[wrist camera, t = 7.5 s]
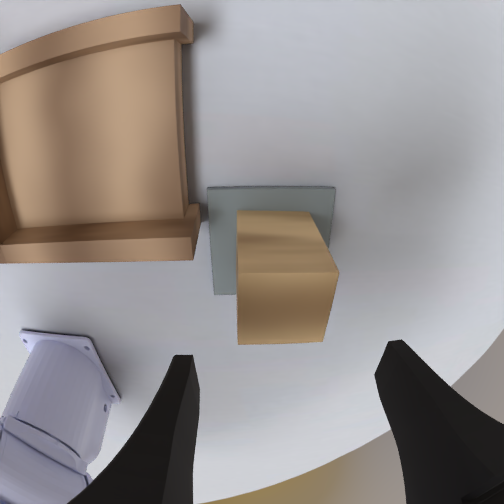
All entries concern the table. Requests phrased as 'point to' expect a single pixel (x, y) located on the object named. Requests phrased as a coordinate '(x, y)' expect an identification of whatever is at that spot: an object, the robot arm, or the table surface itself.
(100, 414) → the robot arm
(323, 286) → the oak block
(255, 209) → the slate pad
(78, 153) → the tray
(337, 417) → the table surface
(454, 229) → the table surface
